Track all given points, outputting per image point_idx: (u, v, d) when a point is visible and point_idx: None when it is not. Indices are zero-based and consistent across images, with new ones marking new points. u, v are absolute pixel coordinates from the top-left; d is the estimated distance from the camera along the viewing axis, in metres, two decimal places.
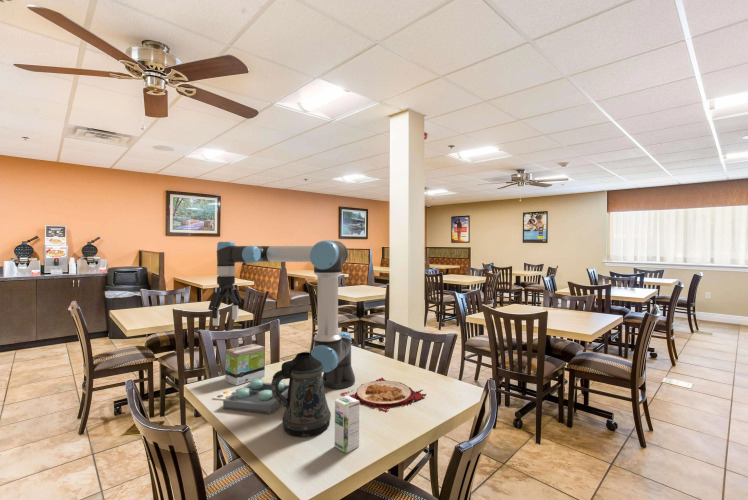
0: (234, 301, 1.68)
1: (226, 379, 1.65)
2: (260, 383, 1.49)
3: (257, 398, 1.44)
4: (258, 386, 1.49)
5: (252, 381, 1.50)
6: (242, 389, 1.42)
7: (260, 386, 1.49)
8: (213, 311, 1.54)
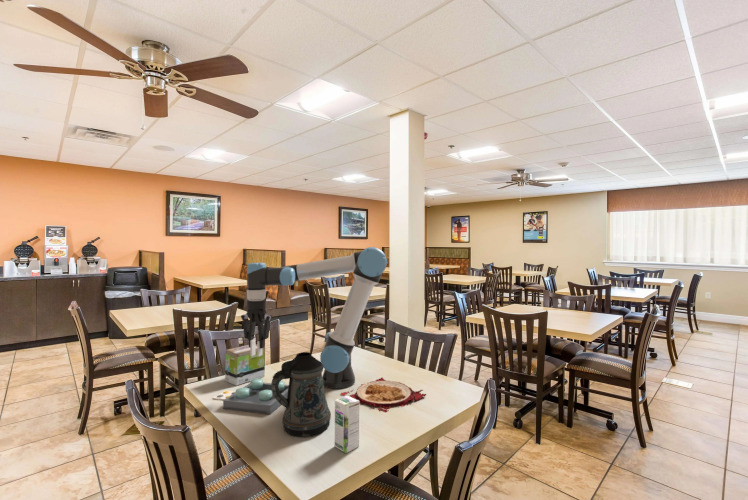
0: None
1: (226, 379, 1.65)
2: (260, 383, 1.49)
3: (257, 398, 1.44)
4: (258, 386, 1.49)
5: (252, 381, 1.50)
6: (242, 389, 1.42)
7: (260, 386, 1.49)
8: None
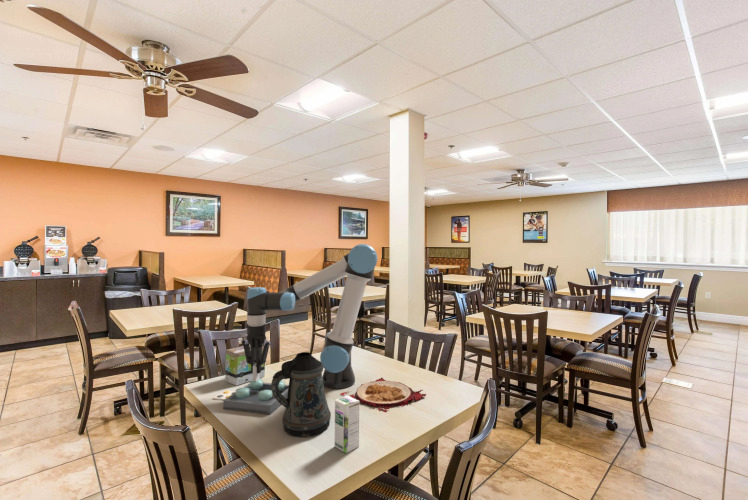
0: None
1: (226, 379, 1.65)
2: (260, 383, 1.49)
3: (257, 398, 1.44)
4: (258, 386, 1.49)
5: (252, 381, 1.50)
6: (242, 389, 1.42)
7: (260, 386, 1.49)
8: None
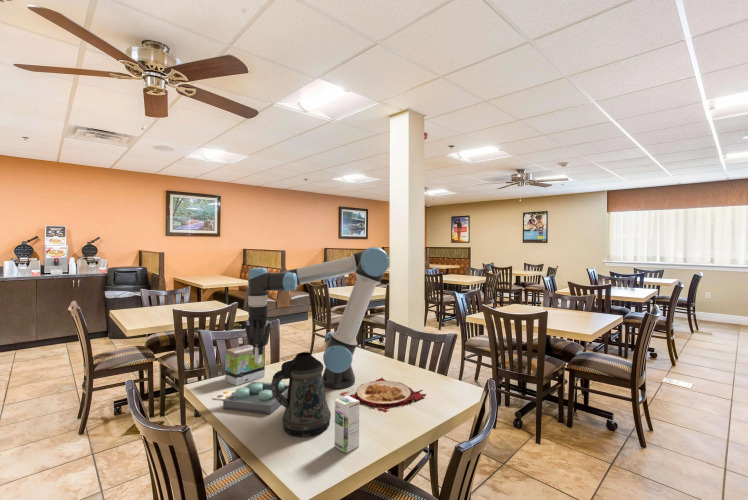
0: None
1: (226, 379, 1.65)
2: (260, 388, 1.49)
3: (257, 398, 1.44)
4: (258, 391, 1.49)
5: (252, 386, 1.50)
6: (242, 389, 1.42)
7: None
8: None
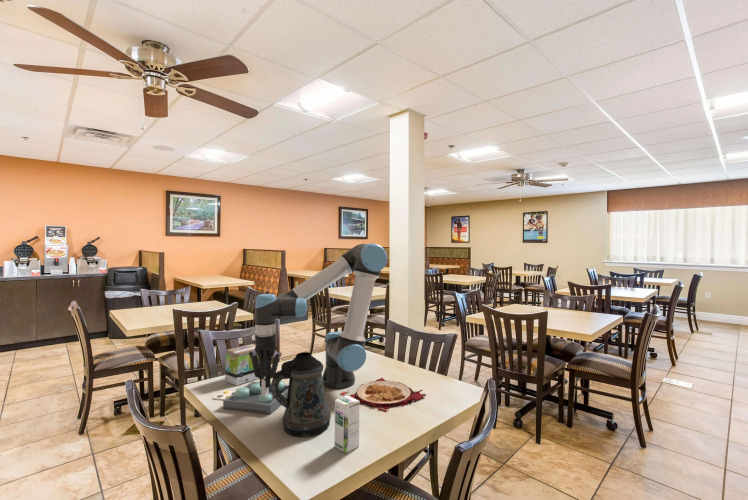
0: None
1: (226, 379, 1.65)
2: (260, 388, 1.49)
3: (257, 398, 1.44)
4: (258, 391, 1.49)
5: (252, 386, 1.50)
6: (242, 389, 1.42)
7: (260, 391, 1.49)
8: None
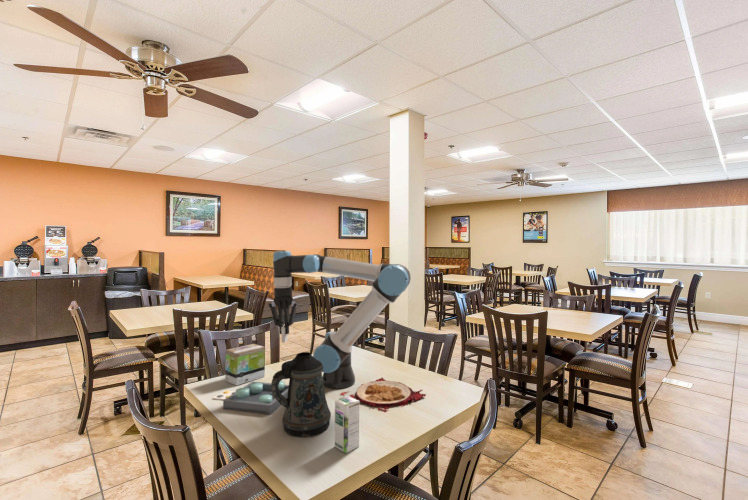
0: None
1: (226, 379, 1.65)
2: (260, 388, 1.49)
3: (257, 398, 1.44)
4: (258, 391, 1.49)
5: (252, 386, 1.50)
6: (242, 389, 1.42)
7: (260, 391, 1.49)
8: None
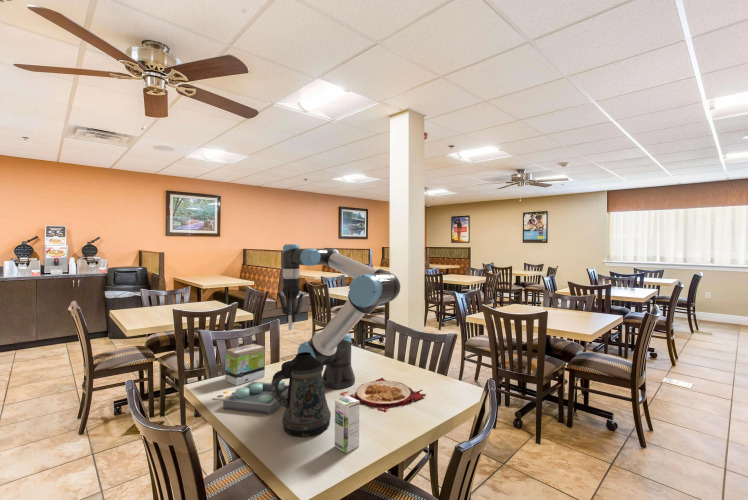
0: None
1: (226, 379, 1.65)
2: (260, 388, 1.49)
3: (257, 398, 1.44)
4: (258, 391, 1.49)
5: (252, 386, 1.50)
6: (242, 389, 1.42)
7: (260, 391, 1.49)
8: None
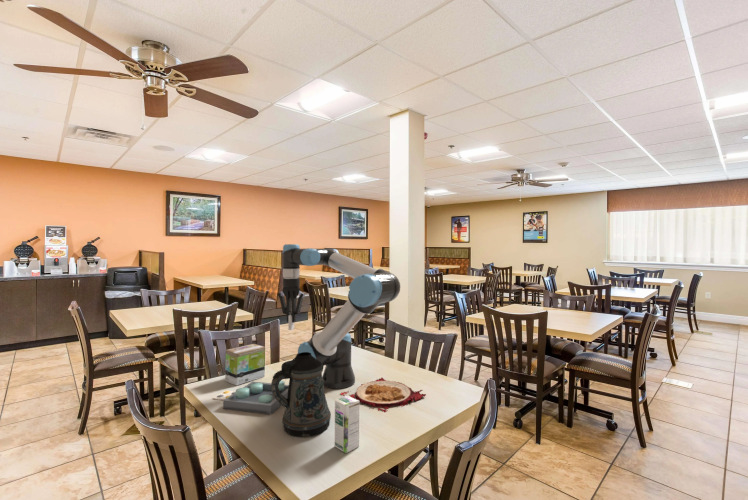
0: None
1: (226, 379, 1.65)
2: (260, 388, 1.49)
3: (257, 398, 1.44)
4: (258, 391, 1.49)
5: (252, 386, 1.50)
6: (242, 389, 1.42)
7: (260, 391, 1.49)
8: None
